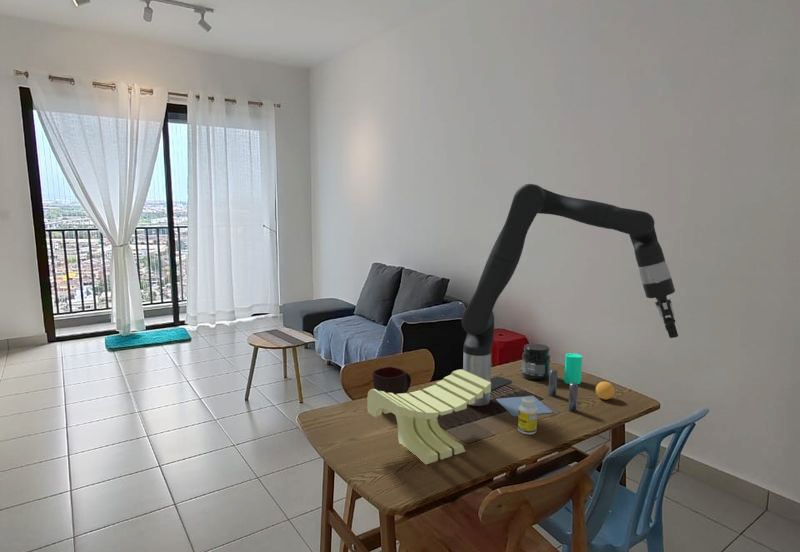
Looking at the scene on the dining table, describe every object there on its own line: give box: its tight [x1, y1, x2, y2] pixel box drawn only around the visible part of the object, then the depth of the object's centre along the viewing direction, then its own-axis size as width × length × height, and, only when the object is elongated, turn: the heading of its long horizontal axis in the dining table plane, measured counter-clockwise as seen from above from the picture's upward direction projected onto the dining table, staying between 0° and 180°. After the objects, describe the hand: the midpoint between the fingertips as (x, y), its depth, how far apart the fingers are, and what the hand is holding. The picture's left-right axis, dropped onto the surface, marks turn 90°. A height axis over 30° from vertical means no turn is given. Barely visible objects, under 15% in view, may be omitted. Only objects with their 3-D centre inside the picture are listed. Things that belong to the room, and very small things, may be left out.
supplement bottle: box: [517, 396, 538, 435], centre depth 144 cm, size 5×5×10 cm
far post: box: [548, 368, 558, 398], centre depth 172 cm, size 3×3×9 cm
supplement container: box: [521, 343, 552, 382], centre depth 190 cm, size 10×10×12 cm
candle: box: [563, 352, 583, 385], centre depth 184 cm, size 6×6×12 cm
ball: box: [595, 381, 616, 401], centre depth 169 cm, size 6×6×6 cm
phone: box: [490, 376, 513, 392], centre depth 183 cm, size 7×1×15 cm
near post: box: [567, 382, 579, 413], centre depth 159 cm, size 3×3×9 cm
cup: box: [372, 366, 412, 395], centre depth 162 cm, size 10×14×12 cm
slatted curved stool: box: [366, 368, 492, 465], centre depth 135 cm, size 30×16×18 cm, turn 122°
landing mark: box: [495, 395, 554, 417], centre depth 163 cm, size 14×14×1 cm
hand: (672, 333), depth 140 cm, fingers open, 8 cm apart
